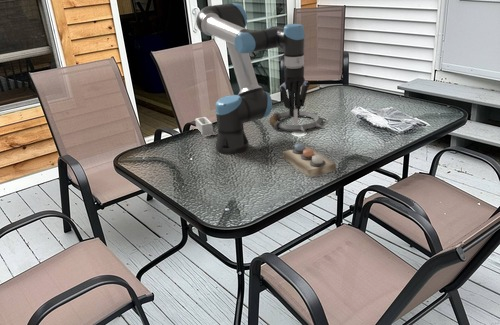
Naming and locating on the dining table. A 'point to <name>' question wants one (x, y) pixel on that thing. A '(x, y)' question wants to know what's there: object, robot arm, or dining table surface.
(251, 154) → the dining table surface
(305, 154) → the button terracotta
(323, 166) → the button panel
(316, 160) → the button cream
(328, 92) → the dining table surface
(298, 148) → the button slate
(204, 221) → the dining table surface
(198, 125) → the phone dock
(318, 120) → the spiked ring
